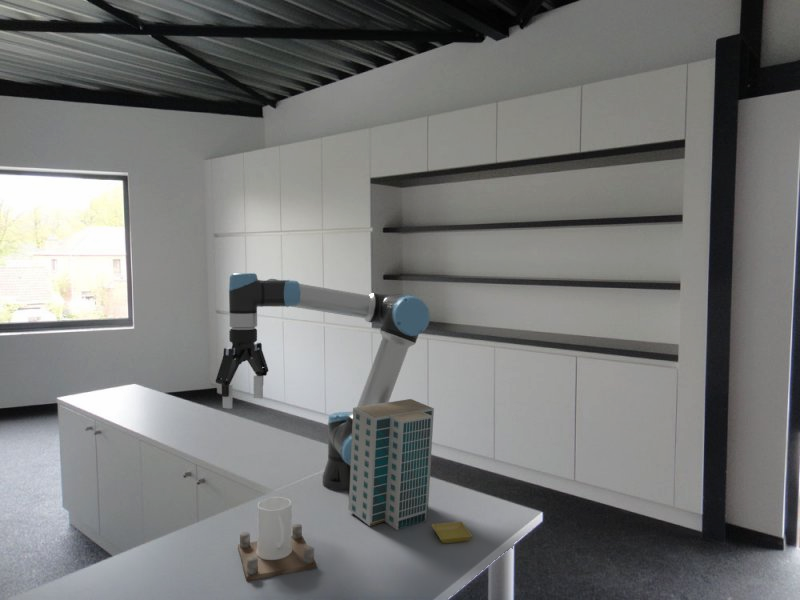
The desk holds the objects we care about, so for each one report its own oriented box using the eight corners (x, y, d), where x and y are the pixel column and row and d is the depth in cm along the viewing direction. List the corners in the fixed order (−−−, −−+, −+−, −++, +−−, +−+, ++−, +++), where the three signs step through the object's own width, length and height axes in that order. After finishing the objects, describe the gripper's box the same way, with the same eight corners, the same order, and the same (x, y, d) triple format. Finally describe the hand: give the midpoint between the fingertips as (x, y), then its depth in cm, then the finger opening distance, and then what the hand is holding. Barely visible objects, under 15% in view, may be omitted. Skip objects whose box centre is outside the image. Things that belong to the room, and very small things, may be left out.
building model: (380, 534, 151) (386, 424, 148) (348, 509, 164) (353, 407, 161) (440, 516, 163) (446, 413, 160) (405, 494, 176) (410, 398, 173)
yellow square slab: (472, 543, 148) (472, 535, 148) (440, 546, 146) (440, 538, 146) (461, 528, 156) (461, 521, 156) (431, 531, 154) (431, 524, 154)
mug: (298, 563, 134) (298, 513, 133) (261, 570, 131) (261, 518, 130) (288, 540, 145) (288, 494, 144) (254, 546, 142) (254, 499, 141)
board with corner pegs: (301, 537, 149) (301, 522, 149) (316, 567, 134) (316, 551, 134) (237, 548, 143) (237, 532, 143) (246, 581, 128) (246, 563, 128)
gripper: (259, 323, 174) (259, 392, 175) (201, 331, 151) (201, 411, 152) (280, 324, 171) (280, 395, 172) (224, 333, 148) (224, 414, 149)
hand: (243, 402), depth 162 cm, fingers open, 13 cm apart
